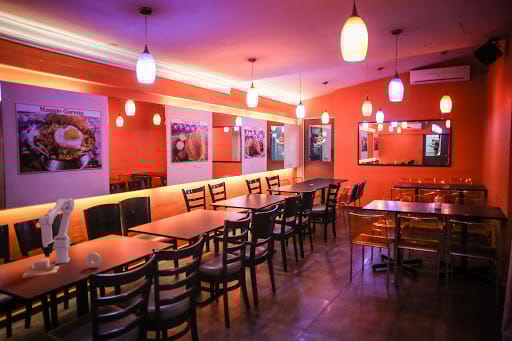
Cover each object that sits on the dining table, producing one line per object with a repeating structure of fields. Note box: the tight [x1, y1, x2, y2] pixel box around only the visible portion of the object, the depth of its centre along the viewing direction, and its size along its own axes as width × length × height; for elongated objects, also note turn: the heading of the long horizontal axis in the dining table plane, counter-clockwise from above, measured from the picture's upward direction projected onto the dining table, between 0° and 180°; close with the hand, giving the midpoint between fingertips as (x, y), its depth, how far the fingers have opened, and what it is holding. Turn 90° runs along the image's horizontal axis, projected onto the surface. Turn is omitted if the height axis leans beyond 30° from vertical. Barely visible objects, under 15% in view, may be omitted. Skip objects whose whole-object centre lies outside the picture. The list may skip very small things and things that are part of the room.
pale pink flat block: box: [31, 257, 50, 269], centre depth 216 cm, size 2×9×7 cm, turn 110°
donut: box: [85, 252, 102, 269], centre depth 221 cm, size 10×3×10 cm, turn 83°
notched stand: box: [21, 263, 60, 279], centre depth 216 cm, size 12×18×4 cm, turn 111°
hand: (48, 255), depth 221 cm, fingers open, 7 cm apart
